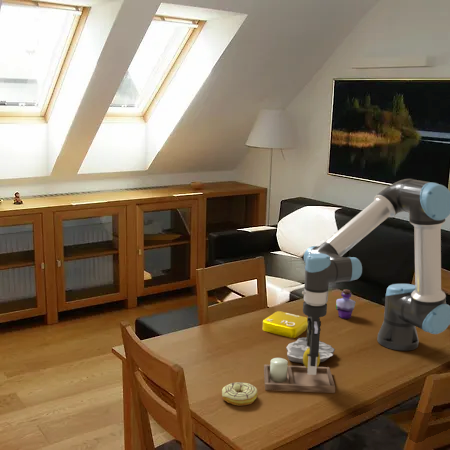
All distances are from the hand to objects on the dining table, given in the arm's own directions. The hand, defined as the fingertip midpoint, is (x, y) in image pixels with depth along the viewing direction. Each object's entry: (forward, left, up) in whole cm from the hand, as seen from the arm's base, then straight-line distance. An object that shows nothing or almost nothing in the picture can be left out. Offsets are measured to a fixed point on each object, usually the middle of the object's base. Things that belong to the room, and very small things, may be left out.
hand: (310, 369), depth 189 cm
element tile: (+5, -45, -5) cm, 46 cm away
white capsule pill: (+10, 0, -4) cm, 11 cm away
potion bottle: (-21, -61, -4) cm, 65 cm away
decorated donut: (+23, +13, -5) cm, 27 cm away
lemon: (0, 0, -1) cm, 1 cm away
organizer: (+4, 0, -4) cm, 6 cm away
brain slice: (-2, -20, -5) cm, 21 cm away
